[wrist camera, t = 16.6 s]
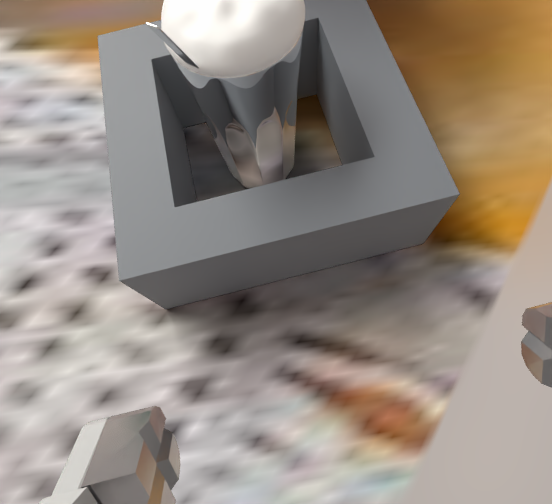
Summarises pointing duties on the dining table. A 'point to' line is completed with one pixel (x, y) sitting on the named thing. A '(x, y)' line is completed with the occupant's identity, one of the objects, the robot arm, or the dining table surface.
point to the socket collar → (275, 196)
